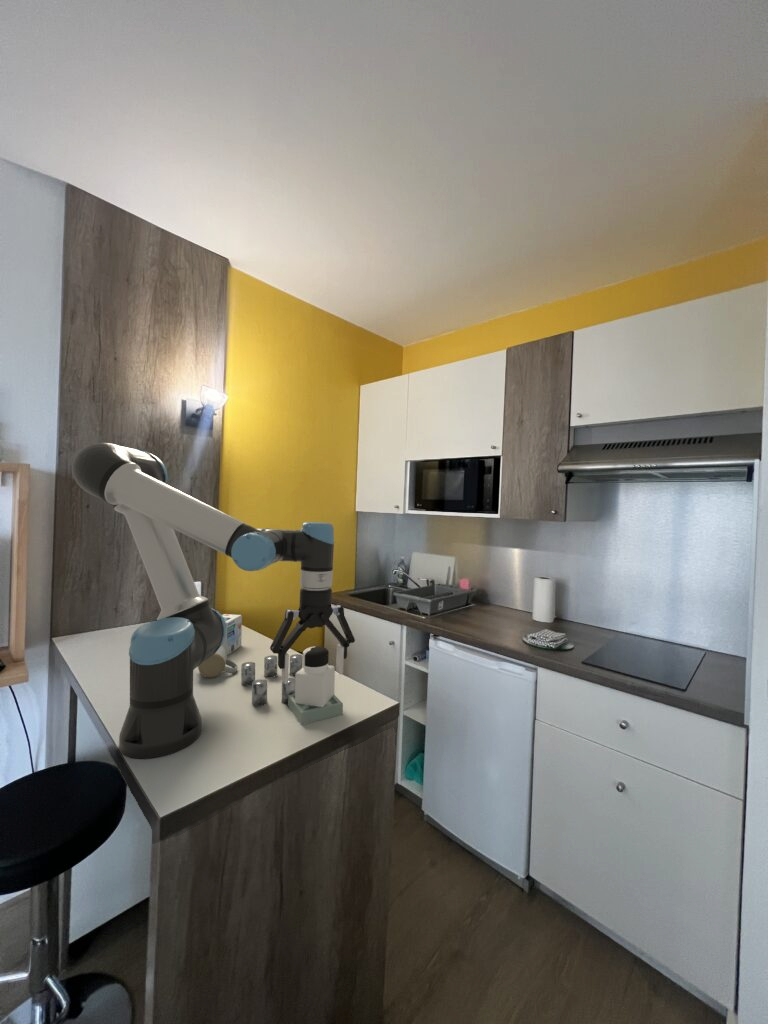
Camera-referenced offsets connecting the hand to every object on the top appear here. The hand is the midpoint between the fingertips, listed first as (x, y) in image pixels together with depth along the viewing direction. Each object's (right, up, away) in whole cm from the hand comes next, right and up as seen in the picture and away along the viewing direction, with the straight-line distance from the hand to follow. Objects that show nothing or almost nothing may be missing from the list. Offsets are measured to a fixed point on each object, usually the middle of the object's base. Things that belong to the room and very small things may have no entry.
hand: (312, 676), depth 100 cm
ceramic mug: (-31, -8, +22) cm, 39 cm away
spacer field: (-11, -8, +13) cm, 18 cm away
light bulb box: (-36, -7, +41) cm, 55 cm away
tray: (0, -8, 0) cm, 8 cm away
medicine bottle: (+1, -6, 0) cm, 6 cm away
